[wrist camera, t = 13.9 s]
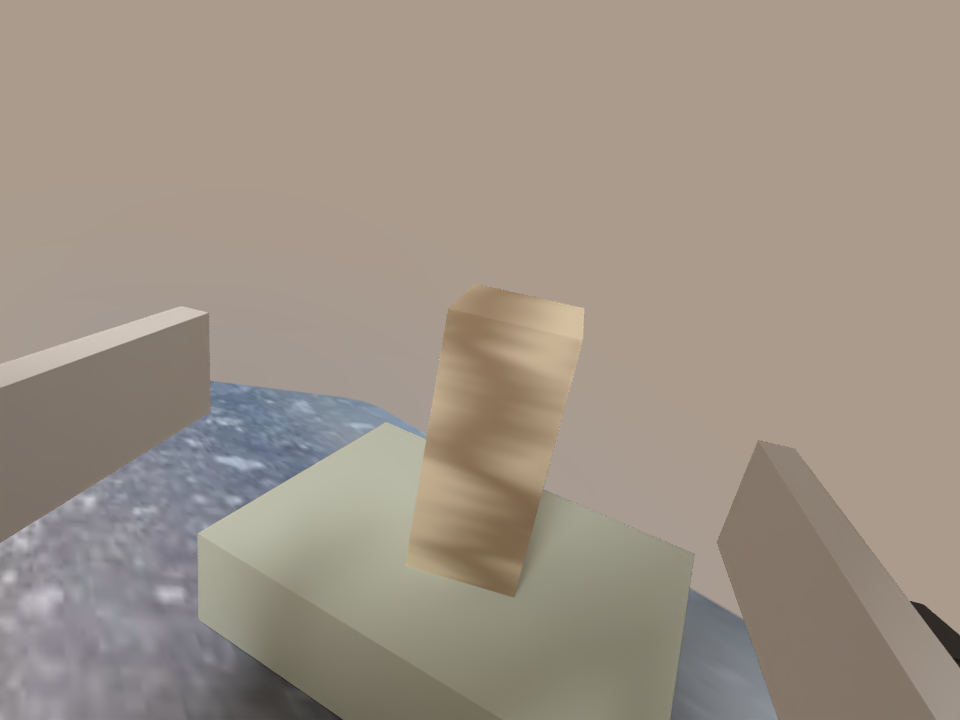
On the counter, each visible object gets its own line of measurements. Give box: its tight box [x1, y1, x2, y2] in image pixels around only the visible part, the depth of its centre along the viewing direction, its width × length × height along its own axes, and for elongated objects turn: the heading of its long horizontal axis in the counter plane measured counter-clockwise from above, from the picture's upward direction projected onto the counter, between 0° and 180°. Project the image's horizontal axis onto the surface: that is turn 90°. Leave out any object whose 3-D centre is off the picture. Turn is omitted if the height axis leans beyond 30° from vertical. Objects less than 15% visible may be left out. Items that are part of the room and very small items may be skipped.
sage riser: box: [198, 422, 694, 720], centre depth 27 cm, size 20×14×5 cm
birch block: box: [405, 284, 584, 597], centre depth 24 cm, size 5×5×12 cm
